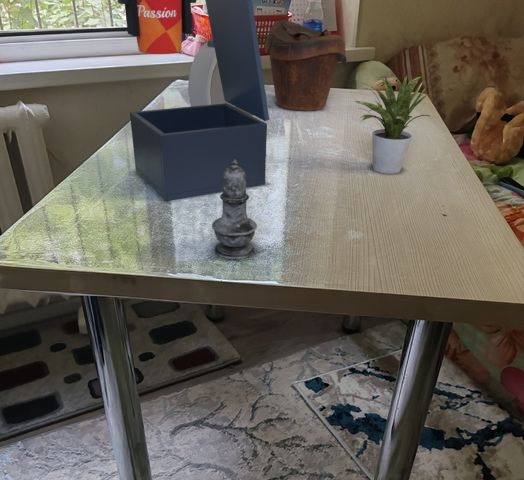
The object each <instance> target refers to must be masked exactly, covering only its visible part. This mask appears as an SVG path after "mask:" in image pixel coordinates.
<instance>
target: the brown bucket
mask: <svg viewBox="0 0 524 480" xmlns="http://www.w3.org/2000/svg"><path fill="white" fill-rule="evenodd" d="M346 51H347V50H346V43H345V40H344V39H343V37H342V36H341V35H339V34H332V32H331V31H329V30H328V29H327V28H326V29H325V30H323V31H322V32H320V31H317V30H315V29H312V28H309V27H306V26H304V25H301V24H299V23H297V22H293V21H291V20H286V19H285V20H278V21H276V22H274V23H273V24H272V25H271V27H270V29H269V30H268V35H267V37H266V40H265V44H264V52H265V54H269V60H270V61H269V62H270V68H271V76H272V83H273V88H274V89H273V90H274V96H275V103H276V105H277V106H279V107H281V108H283V109H286V110H292V111H302V112H303V111H304V112H305V111H306V112H311V111H312V112H313V111H319V110H323V109H324V108H325V107H326V106H327V103H328V102H327V101H328V98H329V95H330V91H331V87H332V84H333V81H334V77H335V75H336V71H337V67H338V64H339V63H342V65H343V66H346V65H347V61H348V59H347V53H346Z"/></svg>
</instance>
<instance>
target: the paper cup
mask: <svg viewBox="0 0 524 480" xmlns="http://www.w3.org/2000/svg"><path fill="white" fill-rule="evenodd" d="M137 9H138V20H139V31H140V36H135V37H136V43H137V47H138V48H137V49H138V51H139V53H142V54H148V55H172V54H179V53H181V52H182V43H183V42H182V40H183V39H182V37H183V35H182V34H183V33H182V8H181V0H137Z"/></svg>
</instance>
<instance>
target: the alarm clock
mask: <svg viewBox="0 0 524 480" xmlns="http://www.w3.org/2000/svg"><path fill="white" fill-rule="evenodd" d="M187 84H188V85H187V86H188V87H187V93H188V99H189V104H190V107H191V106H201V105H212V104H223V103H227V104H229V105H231V106H233V107H235V108H237V109H239V110H241V111H243V112H245V113H247V114H249V115H251V116H253V115H252V114H250V113H248V112H246V111H244V110H242V109H240V108H238V107H236V106H234V105H232V104H230V103H228V102H226V101H225V99H224V94H223V89H222V84H221V79H220V74H219V68H218V63H217V58H216V53H215V48H214V43H213V38H212V36H211V37H209V39H208V40H207V42H205V43H204V44H203V45H202V46H201V47H199V49H198V51H197V53H196V54H195V56H194V58H193V61H192V63H191V66H190V70H189V74H188V83H187Z"/></svg>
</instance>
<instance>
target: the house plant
mask: <svg viewBox="0 0 524 480" xmlns="http://www.w3.org/2000/svg"><path fill="white" fill-rule="evenodd" d="M376 76H378V77H379V78H380V79H381V81H382V84H383V88H384V92H385V94H384V93H383V92H382V91H380V90H379V89H377V88H375V87H373V86H372V85H370V84H367V83H364V82H359V81H357V83H359V84H362V85H365V86H367V87H370V88H371V89H369V88H367V87H363V90H364V89H366V90H368V91H370V92H372V93H373V94H374V95H375V97H376V99H377V100H378V101H377V100H374V102H375V103H376V104H374V103H371V102H368V101H360V100H354V102H355V103H357V104H359V105H363V106H365V107H367V108H368V109H369V110H367V109H365V108H361V107H360V108H359V107H358V110H359V109H360V110H363V111H366V112H367V113H369V114H363V115H362V116H360V117H359V119H361V118H362V119H361V122H363V121H365V120H369V119H371V118H374V120H378V121H379V122H380V123H381V125H382V126H383V127H382V126H380V129H376V130H373V132H372V170H373V171H375V172H377V173H381V174H386V175H387V174H390V175H392V174H393V175H394V174H398V173H400V172H401V169H402V167H403V164H404V161H405V158H406V156H407V153H408V150H409V147H410V144H411V142H412V139H413V135H412V134H411V133H410V132H408V131H405V129H407V128H408V127H409V124H410V123H411V122H412V121H414V120H415V119H418V118H420V117H431V118H432V119H433V117H432V115H429V114H420V115H417V116H415V117H413V116H412V115H410V114H411V113H412V112H413V110H414V109H415V108H416V107H417V106H418V105H419V104H420V103H421V102H422V101H423V100H425V98H426V97H428V96H429V95H430V93H427V94H426V95H424V96H422V95H423V93H424V92H425V90H426V89H427V87H425V88H423V90H421V92H420V93H419V91H420V89H421V87H422V85H423V83H424V82H423V81H421V83H420V84H419V85H418V86H417V88H416V89H415V91H414V93H413V90H414V88H415V87H416V85H417V84H418V82H419V80H421V78H422V76H417V77H414V78H413V79H412V80H410V81H409V82H408V83H407V81H408V76H409V75H408V73H407V74H406V75H405V77H404V78H403V80H402V83H401V85H400V87H399V89H398V92H397V96H396V95H395V91H394V88H393V86H392V84H391V83H390V81H389V80H388V79H387V77H386V76H384V77H383V76H381V75H380V74H378V73H376ZM372 89H373V90H374V91H375V92H376V93H377V94H376V93H375V92H374V91H373V90H372ZM418 93H419V94H418ZM417 94H418V95H417ZM377 95H378V96H377ZM421 96H422V97H421ZM415 97H416V98H415ZM380 99H381V101H382V103H383V106H384V107H383V106H382V103H381V101H380ZM414 99H415V100H414ZM413 100H414V101H413ZM370 111H373V112H376V113H377V114H379V115H380V116H381V117H380V116H377V115H374V114H370ZM412 117H413V118H412ZM379 122H377V123H378V125H380V123H379Z"/></svg>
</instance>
